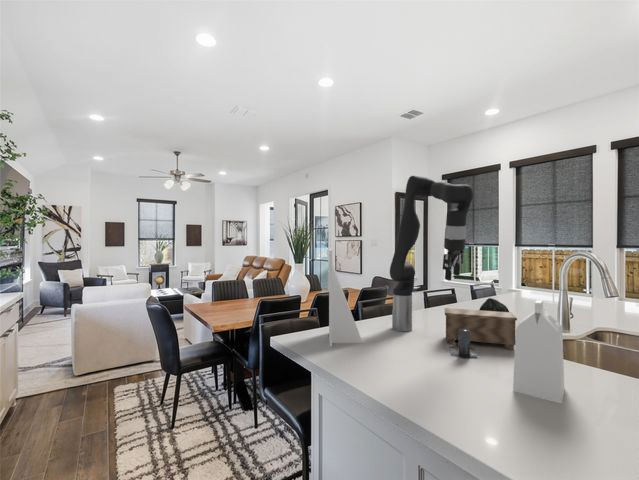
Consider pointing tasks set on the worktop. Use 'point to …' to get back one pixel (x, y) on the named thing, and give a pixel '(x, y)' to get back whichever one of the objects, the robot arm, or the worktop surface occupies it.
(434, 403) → the worktop surface
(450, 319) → the cabinet
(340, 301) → the white bracket plate
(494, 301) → the squash
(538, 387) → the milk
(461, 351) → the joystick
